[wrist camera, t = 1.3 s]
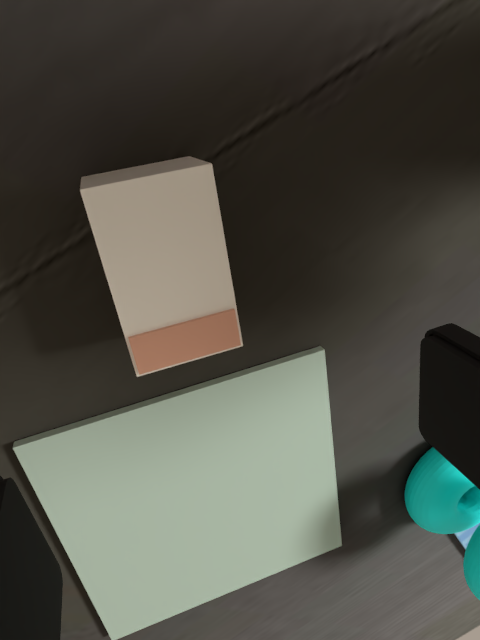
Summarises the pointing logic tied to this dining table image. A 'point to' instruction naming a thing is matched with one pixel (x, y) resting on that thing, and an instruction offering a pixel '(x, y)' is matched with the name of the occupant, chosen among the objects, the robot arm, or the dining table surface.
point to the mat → (192, 489)
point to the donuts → (446, 506)
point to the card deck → (165, 260)
